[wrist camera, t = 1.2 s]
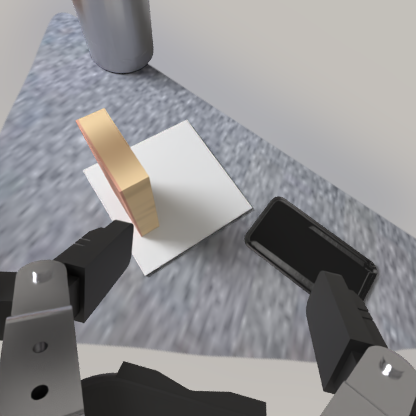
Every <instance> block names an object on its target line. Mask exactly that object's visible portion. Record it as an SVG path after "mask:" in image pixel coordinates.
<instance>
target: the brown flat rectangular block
mask: <svg viewBox="0 0 416 416" xmlns="http://www.w3.org/2000/svg"><path fill="white" fill-rule="evenodd" d="M76 123H77V125H78V127H79V128H80V130H81V132H82V134H83V136H84V138H85V140H86V141H87V143H88V145H89V147H90V149H91V151H92V153H93V154H94V156H95V158H96V160H97V162H98V164H99V166H100V168H101V169H102V171H103V173H104V175H105V177H106V179H107V181H108V182H109V184H110V186H111V188H112V190H113V191H114V193H115V195H116V196H117V198H118V200H119V201H120V203H121V205H122V206H123V208H124V209H125V211H126V213H127V214H128V216H129V218H130V219H131V221H132V223H133V224H134V226H135V227H136V229H137V231H138V232H139V234H140V236H141V237H142V236H144V235H145V234H147V233H149V232H150V231H152V230H154V229H156V228H157V227H159V221H158V216H157V212H156V207H155V202H154V197H153V193H152V188H151V183H150V178H149V175H148V174H147V172H146V171H145V169H144V168H143V166H142V165H141V163H140V162H139V160H138V159H137V157H136V156H135V154H134V153H133V151H132V150H131V148H130V147H129V145H128V144H127V142H126V141H125V139H124V137H123V136H122V134H121V133H120V131H119V130H118V128H117V127H116V125H115V124H114V122H113V121H112V119H111V118H110V116H109V115H108V113H107V112H106V110H105V109H101V110H99V111H97V112H94V113H92V114H90V115H87V116H85V117H83V118H80V119H78V120H76Z"/></svg>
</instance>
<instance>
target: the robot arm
mask: <svg viewBox="0 0 416 416" xmlns="http://www.w3.org/2000/svg"><path fill="white" fill-rule="evenodd" d="M72 2H73V5H74V8H75V11H76V14H77V17H78V20H79V23H80V25H81V29H82V32H83V35H84V38H85V40H86V43H87V46H88V49H89V52H90V55H91V58H92V59H93V61H94V62H95V63H96V64H97V65H98V66H100V67H101V68H103V69H105V70H108V71H111V72H116V73H128V72H133V71H136V70H139V69H140V68H142V67H144V66H145V65H146V64H148V62H149V61H150V60H151V58H152V55H153V40H152V29H151V17H150V5H149V0H72ZM133 233H134V225H133V224H132V223H129V222H125V221H120V220H114V221H113V222H112V223H110V224H109V225H108V226H107V227H106V228H101V227H100V228H98V229H95V230H92V231H89V232H88V233H87V234H86V235H84V236H83V237H82V239H79V240H78V241H77V242H75V244H73V245H72V246H70V247H69V248H68V249H67V250H65V251H64V252H63V253H61V254H60V255H59V256H58V257H56V258H55V259H54V260H40V261H35V262H32V263H29V264H27V265H25V266H23V267H22V268H21V269H20V270H19V271H18V272H0V340H3V344H2V351H1V358H0V416H266V402H263V401H260V400H256V399H252V398H249V397H246V396H242V395H238V394H235V393H232V392H212V391H211V392H210V391H192V390H189V389H187V388H185V387H183V386H182V385H180V384H178V383H177V382H175V381H173V380H172V379H170V378H168V377H167V376H165V375H163V374H162V373H160V372H158V371H156V370H152V369H149V368H145V367H142V366H138V365H135V364H131V363H128V362H123V363H122V365H121V367H120V369H119V371H118V373H106V374H99V375H95V376H91V377H88V378H85V379H83V380H80V371H79V362H78V354H77V345H76V336H75V327H74V320H75V321H78V322H82V323H85V321H86V320H87V319H88V318H89V316H90V315H91V314H92V312H93V311H94V310H95V309H96V307H97V306H98V305H99V303H100V302H101V301H102V299H103V298H104V297H105V296H106V294H107V293H108V292H109V290H110V289H111V288H112V287H113V285H114V284H115V283H116V281H117V280H118V279H119V278H120V276H121V275H122V274H123V272H124V271H125V270H126V268H127V267H128V265H129V262H130V259H131V254H132V244H133ZM306 316H307V321H308V325H309V330H310V334H311V338H312V343H313V347H314V352H315V356H316V360H317V365H318V368H319V374H320V378H321V382H322V387H323V391H325V392H328V393H332V394H335V395H334V396H333V398H332V399H331V401H330V402H329V404H328V405H327V406H326V408H325V409H324V411H323V412H322V414H321V415H320V416H416V370H415V369H414V368H413V367H412V365H410V363H409V362H408V361H407V360H405V359H404V358H403V357H402V356H400V355H399V354H397V353H396V352H394V351H392V350H390V349H388V347H387V345H386V344H385V342H384V340H383V338H382V336H381V334H380V332H379V330H378V328H377V326H376V325H375V323H374V321H372V320H373V319H372V317H371V315H370V313H368V309H367V307H366V306H365V304H364V302H363V300H362V299H361V298H360V297H359V296H358V295H357V294H356V293H355V292H354V291H353V290H349V289H348V287H347V285H346V283H345V281H344V279H343V277H342V275H339V274H335V273H331V272H327V271H320V273H319V274H318V277H317V279H316V282H315V284H314V286H313V289H312V291H311V294H310V296H309V299H308V302H307V306H306Z"/></svg>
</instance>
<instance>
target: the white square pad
mask: <svg viewBox="0 0 416 416" xmlns="http://www.w3.org/2000/svg"><path fill="white" fill-rule="evenodd" d="M130 148H131V150H132V151H133V153H134V154H135V156H136V157H137V159H138V160H139V162H140V163H141V165H142V166H143V168H144V169H145V171H146V172H147V174H148V175H149V178H150V183H151V188H152V193H153V197H154V202H155V207H156V212H157V216H158V221H159V227H157V228H156V229H154V230H152V231H150V232H149V233H147V234H145V235H144V236H142V237H141V236H140V234H139V232H138V231H137V229H136V227H135V226H134V233H133V244H132V254H133V256H134V258H135V260H136V261H137V263H138V265H139V266H140V268H141V270H142V271H143V273H144V275H145V276H146V275H148V274H149V273H151V272H152V271H154V270H156V269H157V268H159V267H160V266H162V265H164V264H165V263H167V262H168V261H170V260H171V259H173V258H175V257H176V256H178V255H179V254H181V253H182V252H184V251H186V250H187V249H189V248H190V247H192V246H193V245H195V244H197V243H198V242H200V241H201V240H203V239H204V238H206V237H208V236H209V235H211V234H212V233H214V232H215V231H217V230H219V229H220V228H222V227H223V226H225V225H226V224H228V223H230V222H231V221H233V220H234V219H236V218H237V217H239V216H241V215H242V214H244V213H245V212H247V211H249V210H250V209H252V207H251V205H250V204H249V203H248V201H247V200H246V199H245V197H244V196H243V195H242V193H241V192H240V191H239V189H238V188H237V187H236V185H235V184H234V182H233V181H232V180H231V178H230V177H229V176H228V174H227V173H226V172H225V170H224V169H223V168H222V166H221V165H220V164H219V162H218V161H217V160H216V158H215V157H214V156H213V154H212V153H211V152H210V150H209V149H208V147H207V146H206V145H205V143H204V142H203V141H202V139H201V138H200V137H199V135H198V134H197V133H196V131H195V130H194V129H193V127H192V126H191V125H190V123H189V122H188V121H187V120H185V121H183V122H181V123H179V124H177V125H175V126H173V127H171V128H169V129H167V130H165V131H163V132H161V133H159V134H157V135H155V136H152V137H150V138H148V139H146V140H144V141H142V142H140V143H138V144H136V145H134V146H132V147H130ZM83 172H84V173H85V175H86V177H87V178H88V180H89V182H90V183H91V185H92V187H93V189H94V190H95V192H96V194H97V195H98V197H99V199H100V200H101V202H102V204H103V205H104V207H105V209H106V211H107V212H108V214H109V216H110V217H111V219H112V221H114V220H120V221H125V222H129V223H132V221H131V219H130V218H129V216H128V214H127V213H126V211H125V209H124V208H123V206H122V205H121V203H120V201H119V200H118V198H117V196H116V195H115V193H114V191H113V190H112V188H111V186H110V184H109V182H108V181H107V179H106V177H105V175H104V173H103V171H102V169H101V168H100V166H99V164H98V163H97V164H95V165H93V166H91V167H89V168H87V169H85V170H83ZM132 224H133V223H132ZM133 225H134V224H133Z"/></svg>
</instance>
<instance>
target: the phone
mask: <svg viewBox="0 0 416 416" xmlns="http://www.w3.org/2000/svg"><path fill="white" fill-rule="evenodd" d="M245 243H246V245H247V246H248V247H249V248H250V249H252V250H253V251H254V252H255V253H257V254H258V255H259V256H261V257H262V258H263V259H264V260H266V261H267V262H268V263H270V264H271V265H272V266H274V267H275V268H276V269H277V270H279V271H280V272H281V273H283V274H284V275H285V276H287V277H288V278H289V279H290V280H292V281H293V282H294V283H296V284H297V285H298V286H300V287H301V288H302V289H303V290H305V291H306V292H307V293H309V294H311V291H312V289H313V286H314V284H315V282H316V279H317V277H318V274H319V273H320V271H327V272H331V273H335V274H339V275H342V277H343V279H344V281H345V283H346V285H347V287H348V289H349V290H353V291H354V292H355V293H356V294H357V295H358V296H359V297H360V298H361V299H362V300H364V298H365V296H366V294H367V293H368V291H369V289H370V287H371V285H372V283H373V281H374V279H375V277H376V275H377V269H376V266H375V265H374V263H373V262H371V261H370V260H369V259H367V258H366V257H365V256H363V255H362V254H360V253H359V252H358V251H356V250H355V249H353V248H352V247H351V246H349V245H348V244H347V243H345V242H344V241H342V240H341V239H340V238H338V237H337V236H336V235H334V234H333V233H331V232H330V231H329V230H327V229H326V228H325V227H323V226H322V225H320V224H319V223H318V222H316V221H315V220H313V219H312V218H311V217H309V216H308V215H307V214H305V213H304V212H302V211H301V210H300V209H298V208H297V207H296V206H294V205H293V204H291V203H290V202H289V201H287V200H286V199H284V198H283V197H275V198H273V199H272V200H271V201H270V203H269V204H268V205H267V207H266V208H265V209H264V211H263V212H262V213H261V215H260V216H259V217H258V219H257V220H256V221H255V223H254V224H253V225H252V227H251V228H250V229H249V231H248V232H247V233H246V235H245Z"/></svg>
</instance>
